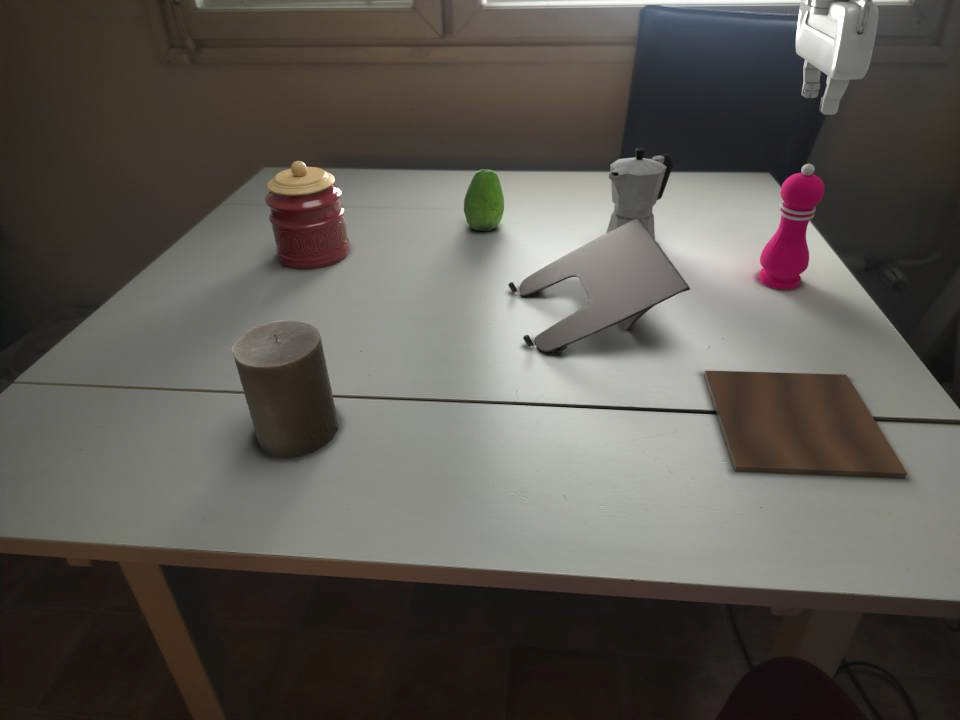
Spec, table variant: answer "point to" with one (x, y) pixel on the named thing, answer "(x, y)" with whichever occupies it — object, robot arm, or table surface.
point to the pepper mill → (791, 231)
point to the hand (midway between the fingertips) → (817, 104)
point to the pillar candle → (287, 387)
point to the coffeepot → (638, 188)
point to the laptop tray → (607, 284)
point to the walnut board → (799, 425)
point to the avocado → (484, 201)
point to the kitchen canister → (307, 218)
